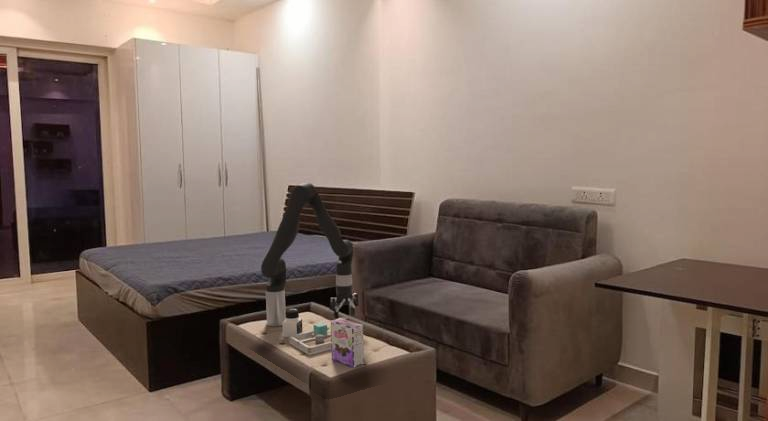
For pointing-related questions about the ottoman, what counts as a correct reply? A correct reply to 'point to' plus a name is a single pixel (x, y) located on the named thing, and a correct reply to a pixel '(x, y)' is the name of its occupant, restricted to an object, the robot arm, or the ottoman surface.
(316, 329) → the cube
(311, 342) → the strip walnut
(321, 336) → the grey puck
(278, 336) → the ottoman surface
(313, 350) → the lane board
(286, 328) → the medicine bottle
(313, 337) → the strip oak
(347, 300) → the robot arm
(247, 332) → the ottoman surface
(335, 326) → the candy box
